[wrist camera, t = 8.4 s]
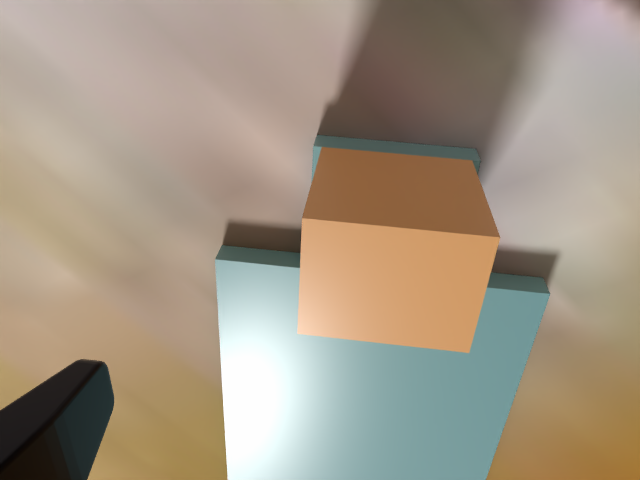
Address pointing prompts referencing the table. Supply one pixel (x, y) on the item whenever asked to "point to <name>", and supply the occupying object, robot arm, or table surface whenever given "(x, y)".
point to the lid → (375, 325)
